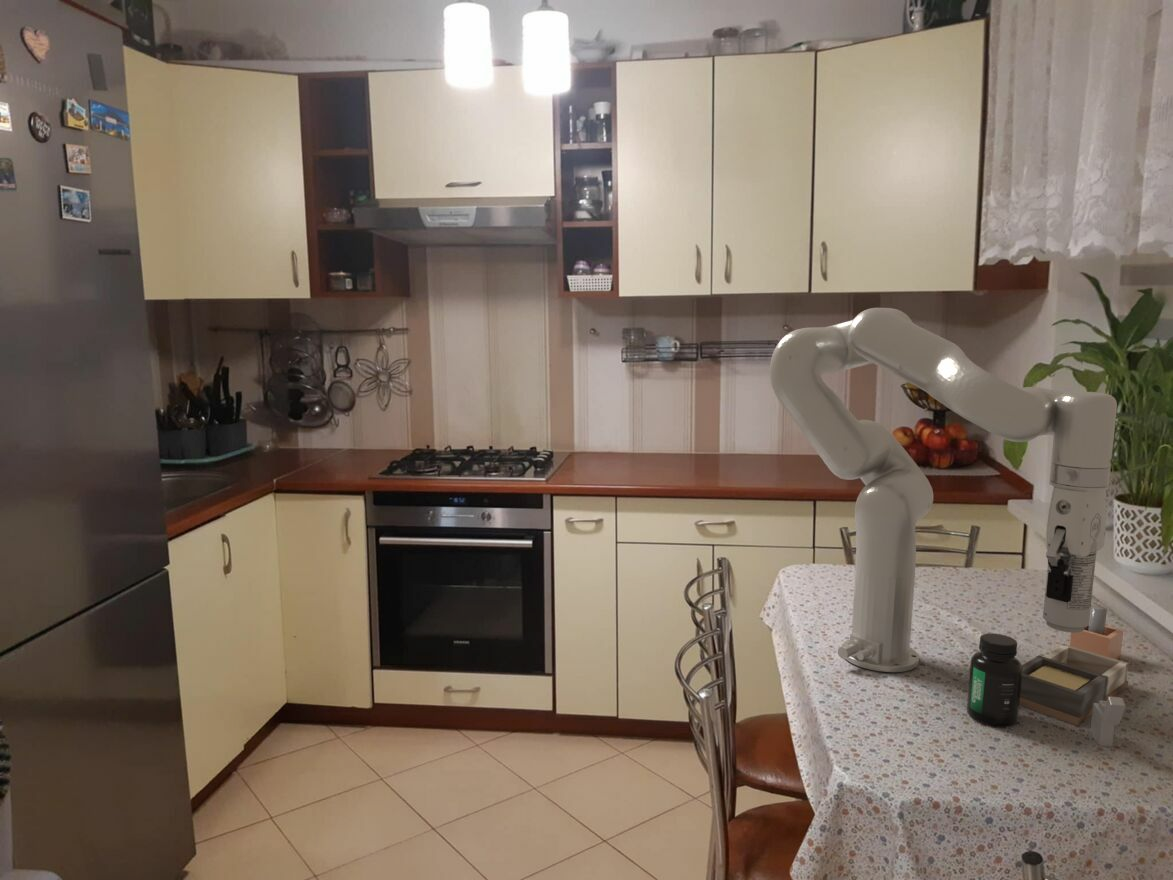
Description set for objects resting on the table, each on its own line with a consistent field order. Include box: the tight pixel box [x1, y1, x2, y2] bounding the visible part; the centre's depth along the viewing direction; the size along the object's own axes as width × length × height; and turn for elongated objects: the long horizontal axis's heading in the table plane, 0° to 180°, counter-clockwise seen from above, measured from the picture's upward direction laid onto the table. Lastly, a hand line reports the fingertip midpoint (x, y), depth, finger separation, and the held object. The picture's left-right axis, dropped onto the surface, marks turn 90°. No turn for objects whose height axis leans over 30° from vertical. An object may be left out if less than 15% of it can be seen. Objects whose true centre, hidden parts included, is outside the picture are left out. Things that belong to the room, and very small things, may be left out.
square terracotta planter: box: [1069, 605, 1124, 660], centre depth 144 cm, size 6×6×9 cm
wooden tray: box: [1019, 643, 1129, 726], centre depth 130 cm, size 20×10×4 cm, turn 130°
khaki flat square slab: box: [1030, 665, 1091, 691], centre depth 127 cm, size 7×7×1 cm
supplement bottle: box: [966, 632, 1023, 728], centre depth 122 cm, size 7×7×12 cm
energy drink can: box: [1042, 540, 1098, 633], centre depth 125 cm, size 6×6×15 cm
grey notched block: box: [1089, 696, 1126, 748], centre depth 115 cm, size 7×2×8 cm, turn 164°
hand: (1067, 593), depth 125 cm, fingers closed on energy drink can, 6 cm apart
